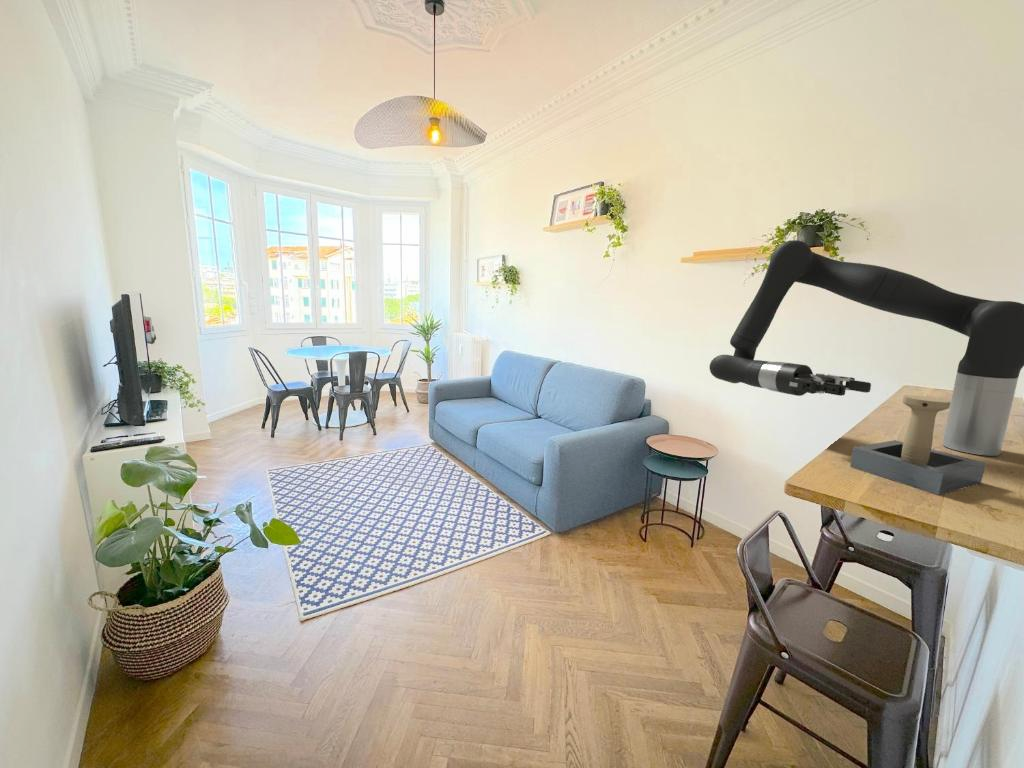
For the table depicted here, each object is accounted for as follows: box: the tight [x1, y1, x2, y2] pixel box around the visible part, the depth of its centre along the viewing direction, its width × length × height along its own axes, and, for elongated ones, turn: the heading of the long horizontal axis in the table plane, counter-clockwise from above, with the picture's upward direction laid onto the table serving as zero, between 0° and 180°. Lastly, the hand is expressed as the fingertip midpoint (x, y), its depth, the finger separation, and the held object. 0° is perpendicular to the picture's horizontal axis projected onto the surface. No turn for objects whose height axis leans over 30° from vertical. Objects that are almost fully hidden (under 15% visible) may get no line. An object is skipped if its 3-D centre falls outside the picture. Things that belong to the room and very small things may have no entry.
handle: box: [901, 394, 951, 465], centre depth 82 cm, size 5×6×15 cm
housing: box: [849, 439, 986, 496], centre depth 83 cm, size 14×14×4 cm
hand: (857, 389), depth 92 cm, fingers open, 8 cm apart
